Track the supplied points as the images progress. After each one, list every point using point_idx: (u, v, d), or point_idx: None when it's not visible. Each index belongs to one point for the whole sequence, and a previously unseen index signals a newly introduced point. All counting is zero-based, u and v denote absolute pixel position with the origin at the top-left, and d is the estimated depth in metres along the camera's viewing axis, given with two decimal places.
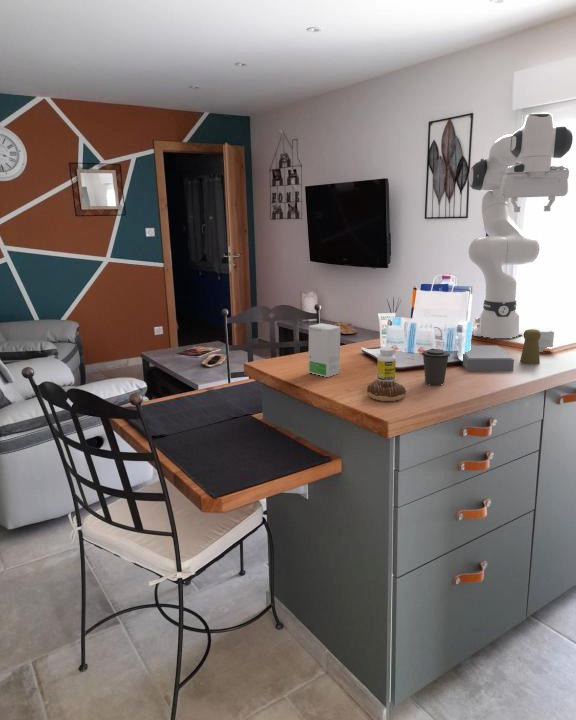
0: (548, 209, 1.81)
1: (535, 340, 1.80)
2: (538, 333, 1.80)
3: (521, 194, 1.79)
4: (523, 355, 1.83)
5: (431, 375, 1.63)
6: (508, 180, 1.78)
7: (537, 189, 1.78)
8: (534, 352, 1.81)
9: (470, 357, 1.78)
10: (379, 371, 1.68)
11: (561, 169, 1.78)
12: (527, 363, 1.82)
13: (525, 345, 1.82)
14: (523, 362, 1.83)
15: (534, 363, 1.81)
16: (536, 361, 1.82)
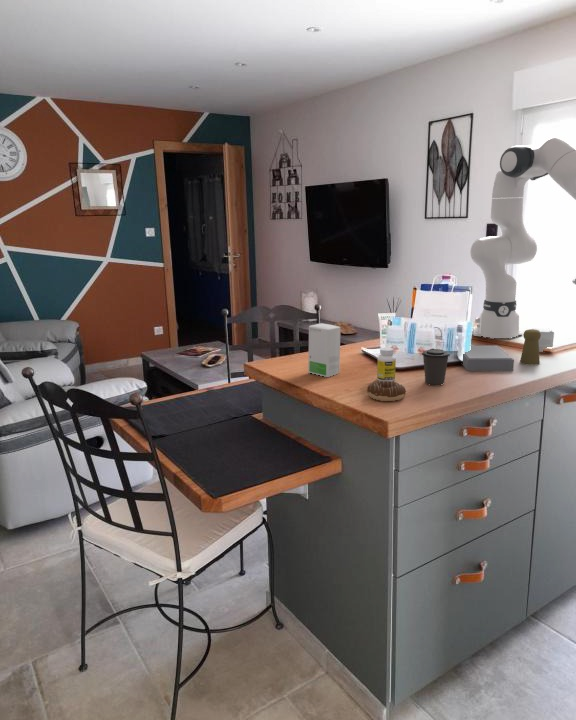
0: None
1: (535, 340, 1.80)
2: (538, 333, 1.80)
3: None
4: (523, 355, 1.83)
5: (431, 375, 1.63)
6: None
7: None
8: (534, 352, 1.81)
9: (470, 357, 1.78)
10: (379, 371, 1.68)
11: None
12: (527, 363, 1.82)
13: (525, 345, 1.82)
14: (523, 362, 1.83)
15: (534, 363, 1.81)
16: (536, 361, 1.82)
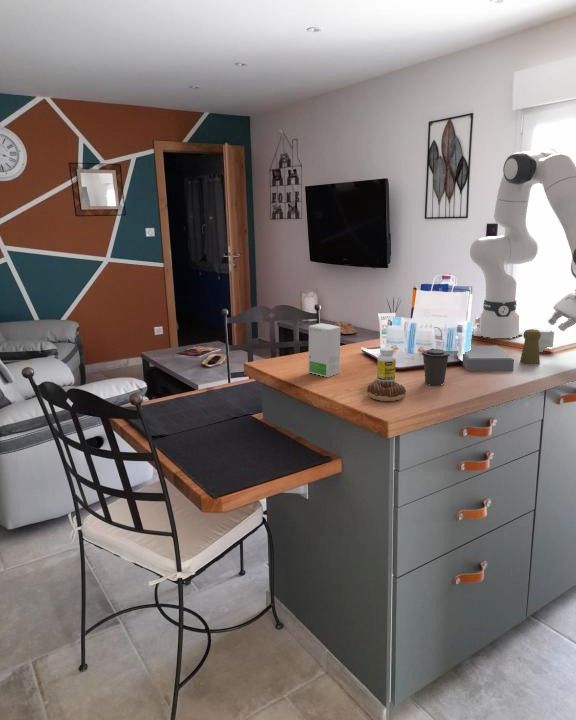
0: None
1: (535, 340, 1.80)
2: (538, 333, 1.80)
3: None
4: (523, 355, 1.83)
5: (431, 375, 1.63)
6: None
7: None
8: (534, 352, 1.81)
9: (470, 357, 1.78)
10: (379, 371, 1.68)
11: None
12: (527, 363, 1.82)
13: (525, 345, 1.82)
14: (523, 362, 1.83)
15: (534, 363, 1.81)
16: (536, 361, 1.82)
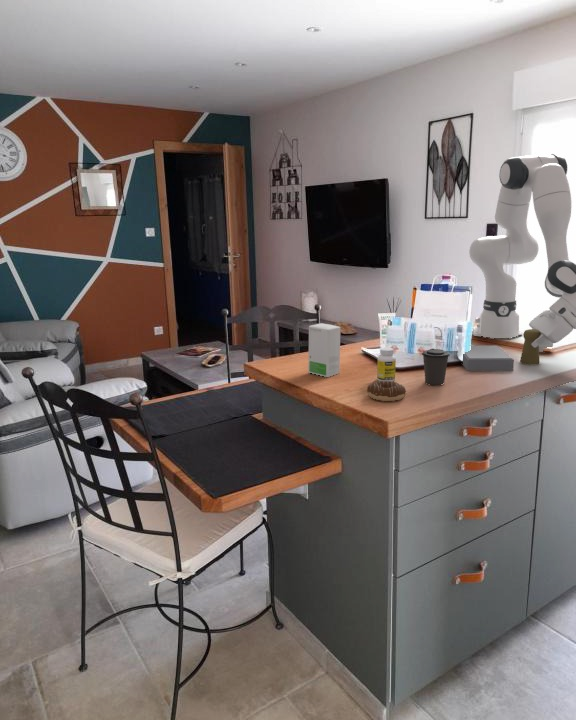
0: None
1: None
2: (538, 333, 1.80)
3: None
4: (523, 355, 1.83)
5: (431, 375, 1.63)
6: None
7: None
8: (534, 352, 1.81)
9: (470, 357, 1.78)
10: (379, 371, 1.68)
11: None
12: (527, 363, 1.82)
13: (525, 345, 1.82)
14: (523, 362, 1.83)
15: (534, 363, 1.81)
16: (536, 361, 1.82)
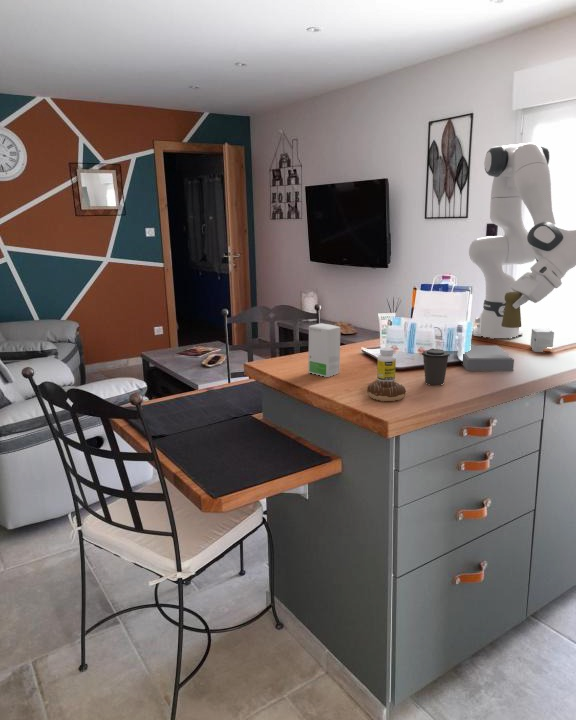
0: None
1: None
2: (519, 295, 1.77)
3: None
4: (504, 318, 1.80)
5: (431, 375, 1.63)
6: None
7: None
8: (515, 315, 1.78)
9: (470, 357, 1.78)
10: (379, 371, 1.68)
11: None
12: (508, 326, 1.79)
13: (506, 308, 1.79)
14: (504, 325, 1.80)
15: (515, 326, 1.79)
16: (517, 324, 1.79)
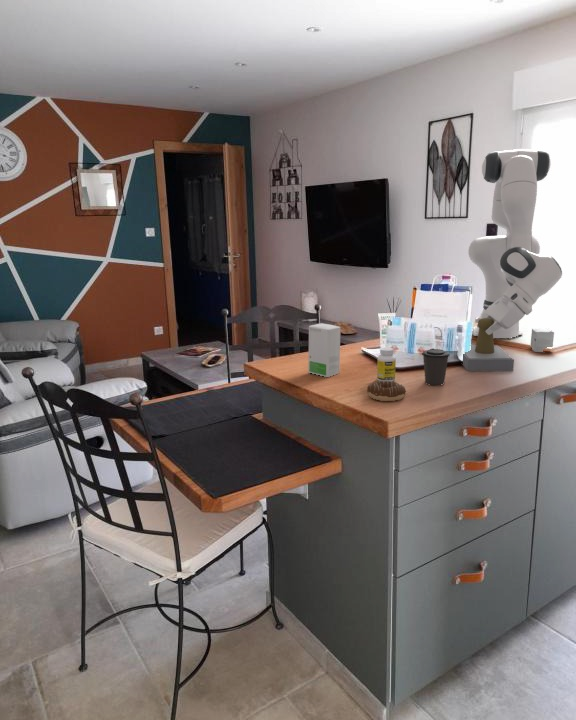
0: None
1: None
2: (492, 322, 1.80)
3: None
4: (477, 344, 1.83)
5: (431, 375, 1.63)
6: None
7: None
8: (488, 341, 1.81)
9: (470, 357, 1.78)
10: (379, 371, 1.68)
11: None
12: (481, 352, 1.82)
13: (479, 334, 1.82)
14: (477, 351, 1.83)
15: (488, 352, 1.81)
16: (490, 350, 1.81)
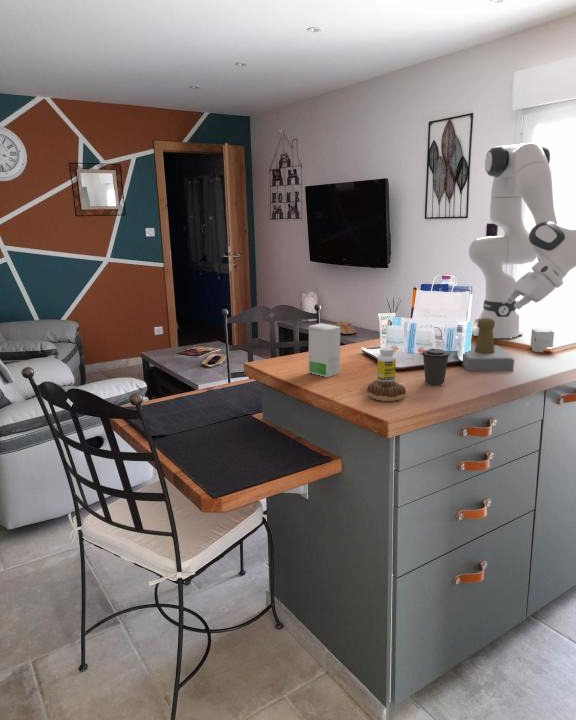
0: None
1: (489, 329, 1.80)
2: (492, 322, 1.80)
3: None
4: (477, 344, 1.83)
5: (431, 375, 1.63)
6: None
7: None
8: (488, 341, 1.81)
9: (470, 357, 1.78)
10: (379, 371, 1.68)
11: None
12: (481, 352, 1.82)
13: (479, 334, 1.82)
14: (477, 351, 1.83)
15: (488, 352, 1.81)
16: (490, 350, 1.81)
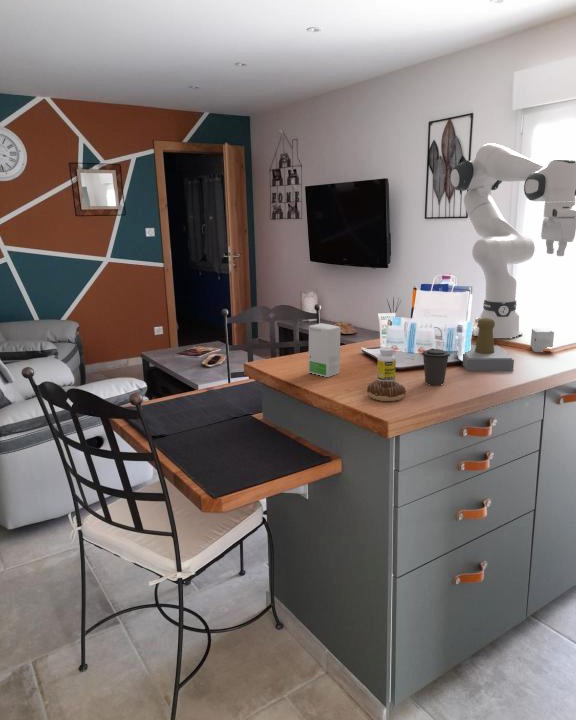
0: None
1: (489, 329, 1.80)
2: (492, 322, 1.80)
3: None
4: (477, 344, 1.83)
5: (431, 375, 1.63)
6: None
7: None
8: (488, 341, 1.81)
9: (470, 357, 1.78)
10: (379, 371, 1.68)
11: None
12: (481, 352, 1.82)
13: (479, 334, 1.82)
14: (477, 351, 1.83)
15: (488, 352, 1.81)
16: (490, 350, 1.81)
